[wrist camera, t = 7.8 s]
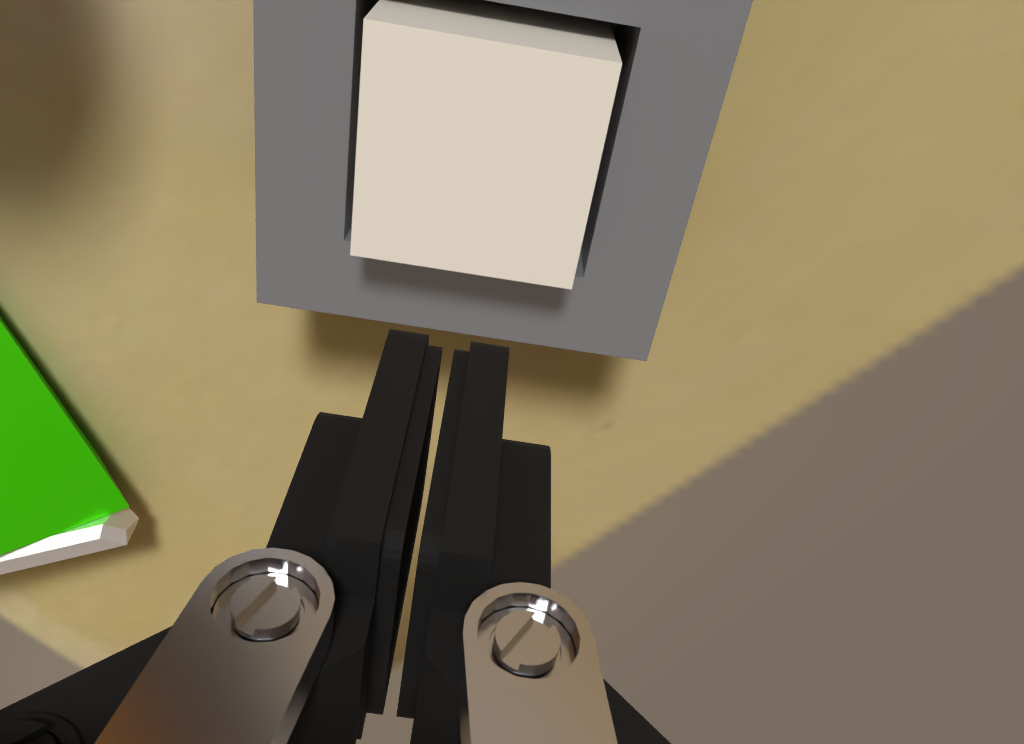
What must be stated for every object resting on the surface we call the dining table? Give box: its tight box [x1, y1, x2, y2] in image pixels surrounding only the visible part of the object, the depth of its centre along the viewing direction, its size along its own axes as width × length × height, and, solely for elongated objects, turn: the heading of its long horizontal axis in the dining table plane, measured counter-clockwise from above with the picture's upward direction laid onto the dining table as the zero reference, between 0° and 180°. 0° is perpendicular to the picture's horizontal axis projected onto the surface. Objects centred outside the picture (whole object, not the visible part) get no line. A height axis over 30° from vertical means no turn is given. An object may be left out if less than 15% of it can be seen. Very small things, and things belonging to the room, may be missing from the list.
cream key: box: [350, 0, 622, 290], centre depth 24 cm, size 6×6×6 cm
